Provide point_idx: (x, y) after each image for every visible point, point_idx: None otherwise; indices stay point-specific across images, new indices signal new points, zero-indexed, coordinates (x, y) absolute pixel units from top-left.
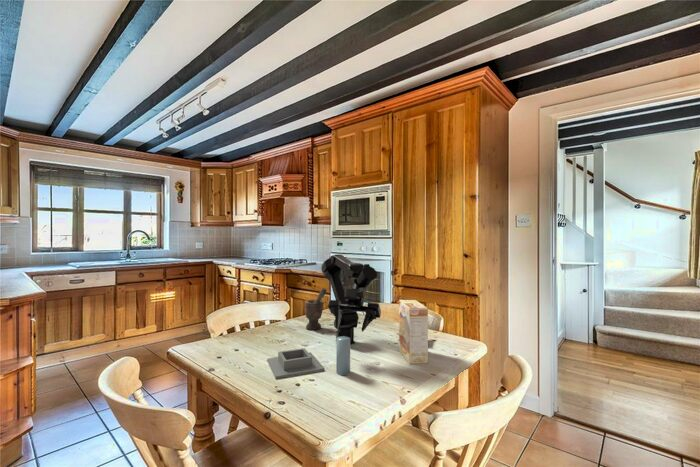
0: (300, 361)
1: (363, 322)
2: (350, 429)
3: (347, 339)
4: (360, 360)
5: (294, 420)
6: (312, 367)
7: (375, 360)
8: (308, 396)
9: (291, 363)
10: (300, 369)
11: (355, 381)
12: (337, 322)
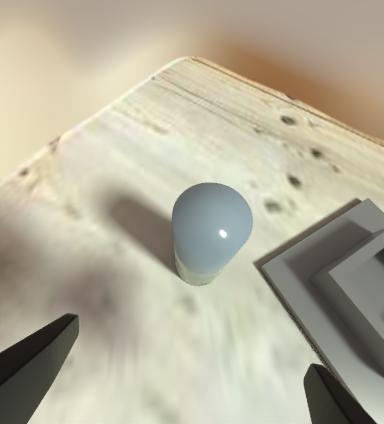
0: (353, 252)
1: (9, 369)
2: (158, 73)
3: (186, 202)
4: (139, 402)
5: (243, 85)
6: (303, 267)
7: (66, 415)
8: (249, 139)
9: (372, 237)
10: (331, 247)
11: (155, 208)
12: (351, 418)
